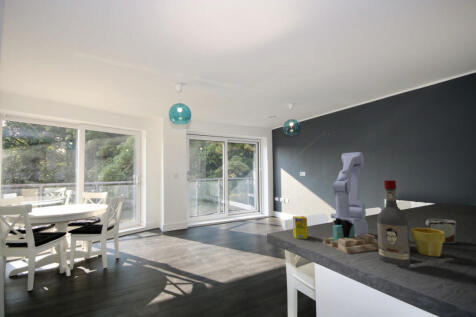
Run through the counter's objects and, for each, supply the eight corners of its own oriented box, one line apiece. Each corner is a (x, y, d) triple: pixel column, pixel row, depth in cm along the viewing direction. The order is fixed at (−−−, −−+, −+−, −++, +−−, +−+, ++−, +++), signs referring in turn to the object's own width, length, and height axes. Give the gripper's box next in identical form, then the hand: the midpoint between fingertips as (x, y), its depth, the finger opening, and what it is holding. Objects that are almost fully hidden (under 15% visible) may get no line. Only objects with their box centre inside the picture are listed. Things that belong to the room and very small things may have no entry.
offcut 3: (368, 244, 103) (367, 234, 103) (375, 247, 99) (375, 236, 99) (360, 245, 101) (359, 235, 102) (367, 248, 98) (367, 237, 98)
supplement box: (307, 240, 114) (307, 218, 115) (295, 240, 114) (295, 218, 115) (304, 237, 120) (303, 215, 121) (293, 237, 120) (292, 216, 121)
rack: (353, 240, 112) (353, 234, 112) (382, 251, 97) (382, 243, 97) (322, 244, 107) (321, 238, 107) (347, 256, 91) (347, 248, 92)
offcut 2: (358, 245, 101) (357, 237, 101) (365, 248, 97) (365, 240, 97) (348, 247, 100) (348, 238, 100) (356, 249, 96) (355, 241, 96)
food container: (447, 239, 112) (446, 218, 113) (458, 243, 106) (456, 221, 106) (420, 239, 113) (419, 218, 114) (429, 242, 107) (428, 220, 108)
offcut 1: (346, 247, 99) (346, 237, 100) (353, 250, 95) (353, 240, 96) (338, 248, 98) (337, 238, 98) (345, 251, 94) (344, 241, 94)
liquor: (382, 256, 91) (377, 180, 93) (411, 261, 85) (405, 180, 87) (378, 263, 83) (373, 180, 86) (409, 269, 78) (403, 181, 80)
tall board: (351, 241, 108) (350, 223, 109) (355, 242, 106) (354, 224, 106) (333, 243, 105) (332, 225, 106) (337, 244, 103) (336, 226, 103)
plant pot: (410, 249, 98) (408, 226, 98) (441, 253, 93) (439, 228, 94) (415, 257, 88) (413, 232, 89) (450, 262, 84) (448, 234, 84)
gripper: (325, 205, 112) (326, 233, 111) (347, 209, 99) (348, 241, 98) (337, 204, 115) (338, 232, 114) (360, 208, 101) (361, 239, 100)
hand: (343, 236), depth 106 cm, fingers closed on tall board, 2 cm apart
